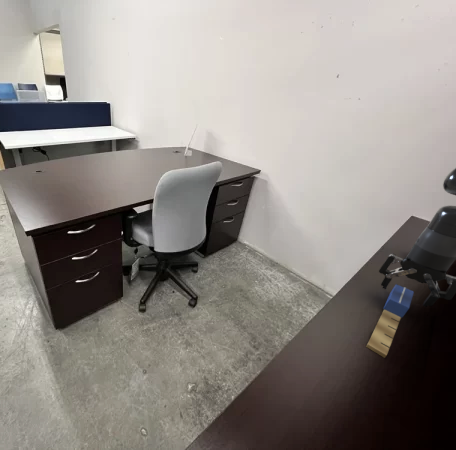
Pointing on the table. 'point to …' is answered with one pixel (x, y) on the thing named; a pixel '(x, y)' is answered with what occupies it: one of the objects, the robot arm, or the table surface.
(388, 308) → the pencil case
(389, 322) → the ruler
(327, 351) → the table surface
